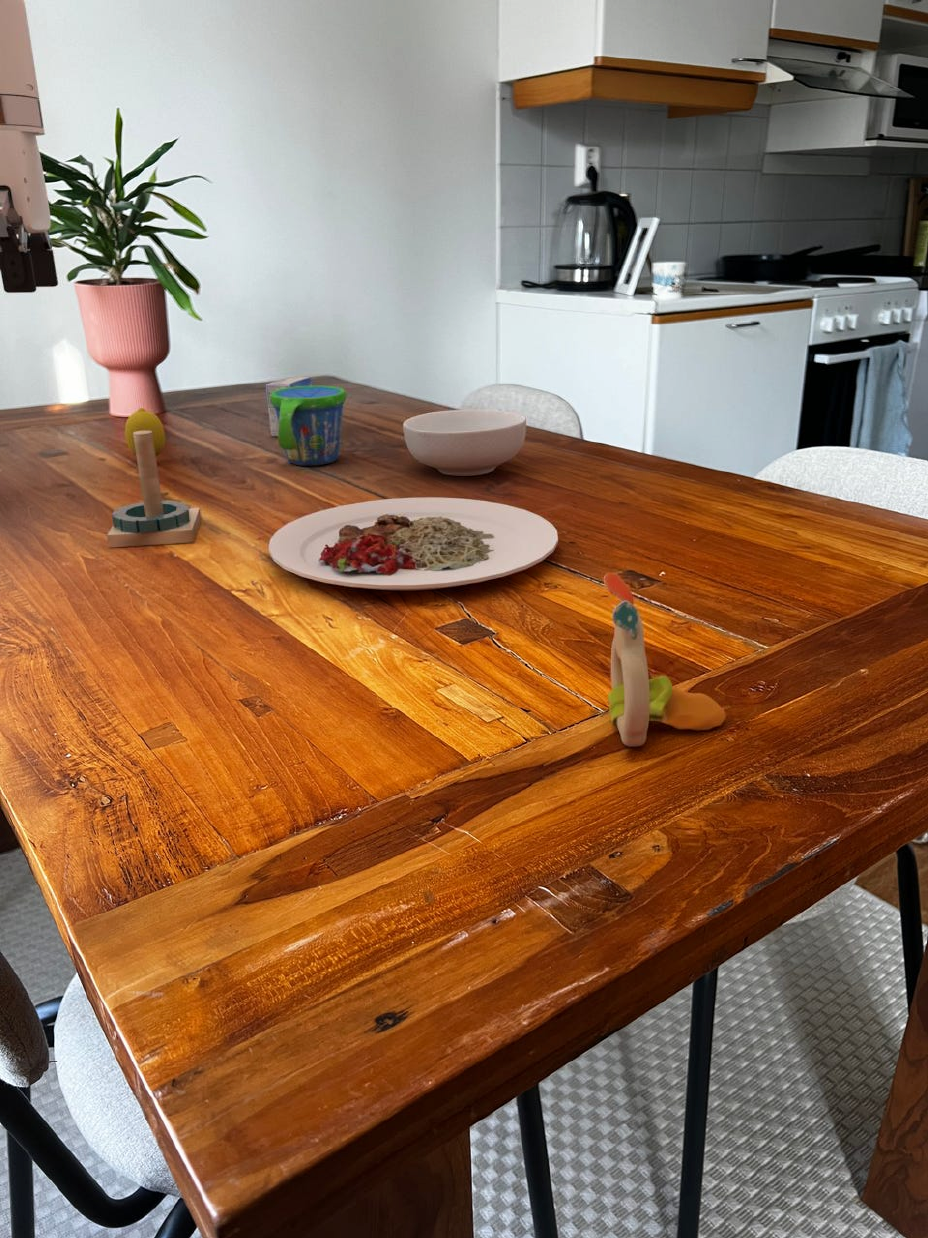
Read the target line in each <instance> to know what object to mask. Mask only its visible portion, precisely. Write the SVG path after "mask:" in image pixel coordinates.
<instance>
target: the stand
mask: <svg viewBox="0 0 928 1238" xmlns="http://www.w3.org/2000/svg"><path fill="white" fill-rule="evenodd" d="M133 436H134V443H135V449H136V455H135V457H136V462H137V469H138V475H139V482H140V489H141V495H142V502H143V503H144V510H145V517H155V516H161V515H164V512H163V505H162V500H163V499H162V498H163V497H162V492H161V484H160V477H159V469H158V463H157V456H156V455H155V448H154V441H153V434H152V431H137V432H134V433H133ZM190 513H191V519H190V522H189V523H187V524H185V525H183V526H181V527H177V528H175V529H170V530H165V531H159V530H158V532H151V533H140V532H138V533H131V532H123V531H120V530H118V529H116V528H115V527H114V525H112V526H111V527H110V529H109V531H108V532H107V534H106V537H107V543H108V548H111V549H112V548H128V547H129V548H130V547H142V546H144V547H145V546H159V545H175V544H189V543H190V544H191V543H195V541H196V537H197V533H198V531H199V528H200V525H201V522H202V512H201V508H200V507H190Z"/></svg>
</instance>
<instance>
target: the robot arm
mask: <svg viewBox="0 0 928 1238" xmlns="http://www.w3.org/2000/svg"><path fill="white" fill-rule="evenodd" d="M32 47H33V46H32V41H31V34H30V28H29V21H28V14H27V8H26V3H25V0H0V274H1V282H2V287H3V291H4V292H5V293H7V294H22V293H23V294H24V293H25V294H27V293H28V294H29V293H30V294H32V293H35V292H36V291H37V288H54V287H57V286H58V285H59V279H58V272H57V267H56V261H55V255H54V249H53V243H52V239H51V236H50V229H51V227H52V222H51V210H50V205H49V204H50V203H49V197H48V196H49V195H48V191H47V185H46V180H45V174H44V169H43V165H42V159H41V157H42V156H41V153H40V149H39V145H38V140H37V137H40V136H44V135H46V133H45V126H44V125H45V124H44V118H43V112H42V107H41V106H42V105H41V100H40V94H39V93H40V92H39V86H38V81H37V74H36V73H37V72H36V66H35V60H34V55H33V48H32Z"/></svg>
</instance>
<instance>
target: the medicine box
mask: <svg viewBox="0 0 928 1238" xmlns="http://www.w3.org/2000/svg"><path fill="white" fill-rule="evenodd" d="M297 386H313V385H312V378H311V377H309V376H307V377H306V376H290V377H286V378H283V379H280V380H276V381H273V382H270V383H267V384H265V390H266V399H267V400H266V401H267V409H268V418H269V429H270V436H271V437H275V438H278V430H279V421H278V419H277V413H276V410H275V408H274V406H273V404H271V401H270V395H271V393H272V392H273V391H276V390H279V389H283V388H289V387H297Z"/></svg>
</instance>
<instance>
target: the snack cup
mask: <svg viewBox="0 0 928 1238" xmlns="http://www.w3.org/2000/svg"><path fill="white" fill-rule="evenodd" d="M347 396H348V395H347V392H346V390H345V389H344V388H342V387H339V386H332V385H312V386H297V387H289V388H283V389H279V390H276V391H273V392H272V393H271V395H270V401H271V404H273V406H274V408H275V410H276V413H277V419H278V421H279V430H278V437H277V443H278V446H279V447H280V448H281V449H283V450H284V452H285V456H286V458H287V462H288V463H291V464H294V465H295V466H301V467H304V466H305V467H314V466H315V467H316V466H324V465H329V464H332V463H334V462H336V460H338V459H339V457H340V451H341V441H342V439H341V438H342V424H343V416H344V415H343V414H344V412H343V411H344V404H345V402H346V400H347Z"/></svg>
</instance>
